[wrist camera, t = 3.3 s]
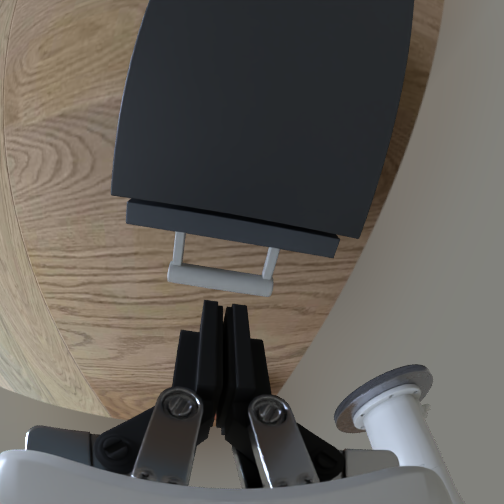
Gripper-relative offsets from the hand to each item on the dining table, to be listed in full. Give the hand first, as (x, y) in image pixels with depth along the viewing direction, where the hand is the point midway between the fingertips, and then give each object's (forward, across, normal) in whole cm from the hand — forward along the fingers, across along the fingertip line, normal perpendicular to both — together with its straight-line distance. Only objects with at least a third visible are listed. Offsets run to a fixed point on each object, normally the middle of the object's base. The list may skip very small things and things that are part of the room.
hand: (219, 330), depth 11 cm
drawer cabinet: (+13, 0, -11) cm, 17 cm away
